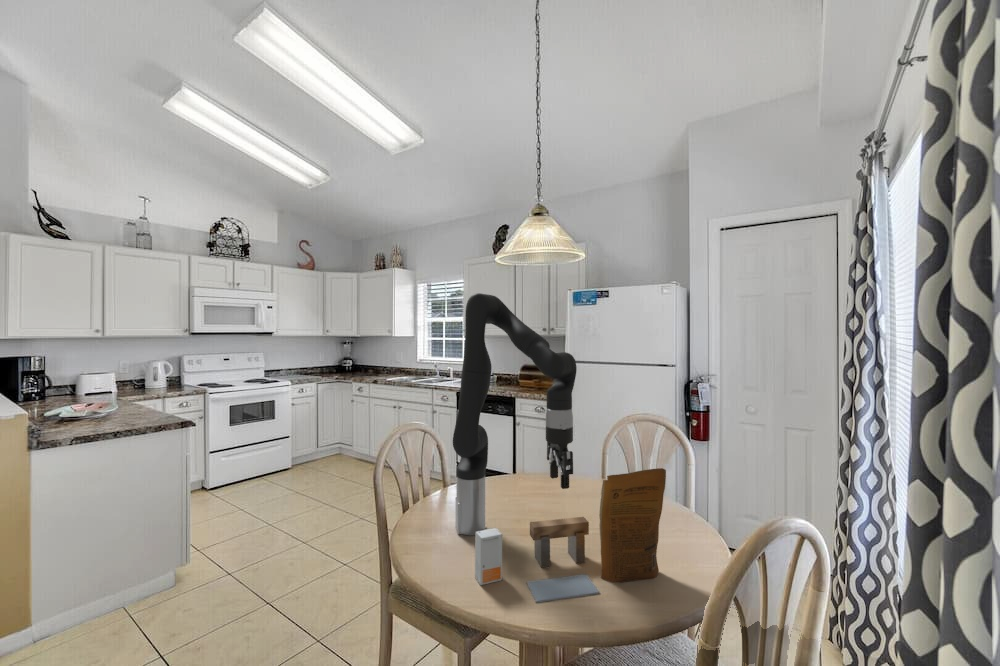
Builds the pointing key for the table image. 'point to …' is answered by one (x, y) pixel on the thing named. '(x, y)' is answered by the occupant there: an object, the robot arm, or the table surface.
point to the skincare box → (488, 556)
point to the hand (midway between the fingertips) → (559, 482)
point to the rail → (559, 528)
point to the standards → (574, 549)
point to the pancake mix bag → (631, 524)
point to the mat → (562, 588)
